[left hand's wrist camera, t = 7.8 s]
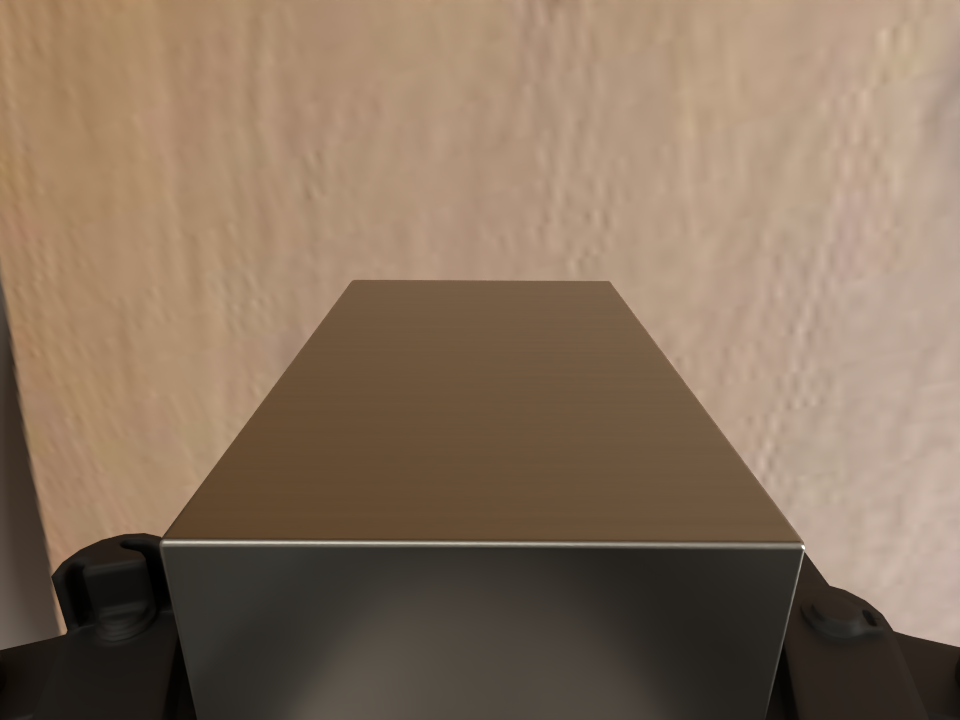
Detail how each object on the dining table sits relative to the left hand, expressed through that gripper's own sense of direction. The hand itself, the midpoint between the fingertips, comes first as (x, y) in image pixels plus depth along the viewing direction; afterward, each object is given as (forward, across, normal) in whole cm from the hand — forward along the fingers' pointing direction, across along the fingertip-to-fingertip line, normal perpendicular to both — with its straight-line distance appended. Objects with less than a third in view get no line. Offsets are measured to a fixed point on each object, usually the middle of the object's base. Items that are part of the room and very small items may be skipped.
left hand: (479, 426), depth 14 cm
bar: (+1, 0, -10) cm, 10 cm away
